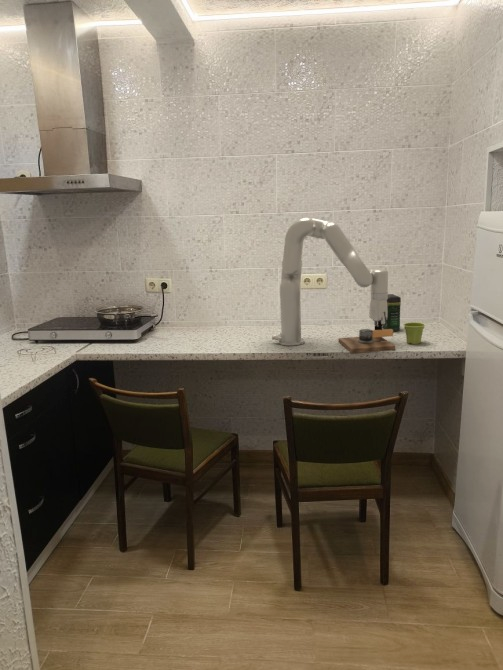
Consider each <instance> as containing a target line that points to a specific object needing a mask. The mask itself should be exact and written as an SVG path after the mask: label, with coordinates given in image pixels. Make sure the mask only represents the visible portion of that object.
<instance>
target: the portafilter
mask: <svg viewBox="0 0 503 670" xmlns="http://www.w3.org/2000/svg"><path fill="white" fill-rule="evenodd" d="M393 336H394V331H393V330H392V329H383V328H382V330H375V329H370V328H369V329H368V328H364V329H359V332H358V337H359V340H363V341H369V340H372V339H373V338H375V337H382V338H387V337H388V338H389V337H393Z"/></svg>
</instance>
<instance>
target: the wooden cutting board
mask: <svg viewBox="0 0 503 670" xmlns="http://www.w3.org/2000/svg"><path fill="white" fill-rule="evenodd" d="M338 343H339V344H340V345H341V346H342V347H344V349H346V350H347V351H348V352H349V353H350V354H360V353H362V354H363V353H373V352H375V353H376V352H387V351H396V345H395V344H393V343H392V342H391V341H389V340H387V339H386V338H385V337H375V338H373V339H372V340H369V341H363V340H359V336H352V337H351V336H350V337H338Z"/></svg>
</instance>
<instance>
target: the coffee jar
mask: <svg viewBox="0 0 503 670" xmlns="http://www.w3.org/2000/svg"><path fill="white" fill-rule="evenodd" d="M401 304H402V301H401V297H400V296H398V295H395V294H394V293H390V294H389V293H388V299H387V320H386V321H385V324H383V326H382V330H383V329H392V330H393V332H398V331H400V330H401Z"/></svg>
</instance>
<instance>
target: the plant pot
mask: <svg viewBox="0 0 503 670" xmlns="http://www.w3.org/2000/svg"><path fill="white" fill-rule="evenodd" d="M403 326H404V330H405V337H406V343H407V344H412V345H418V344H421V343H422V336H423V332H424V328H425V326H426V324H425V323H422V322H416V321H415V322H405V323H404V324H403Z"/></svg>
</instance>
